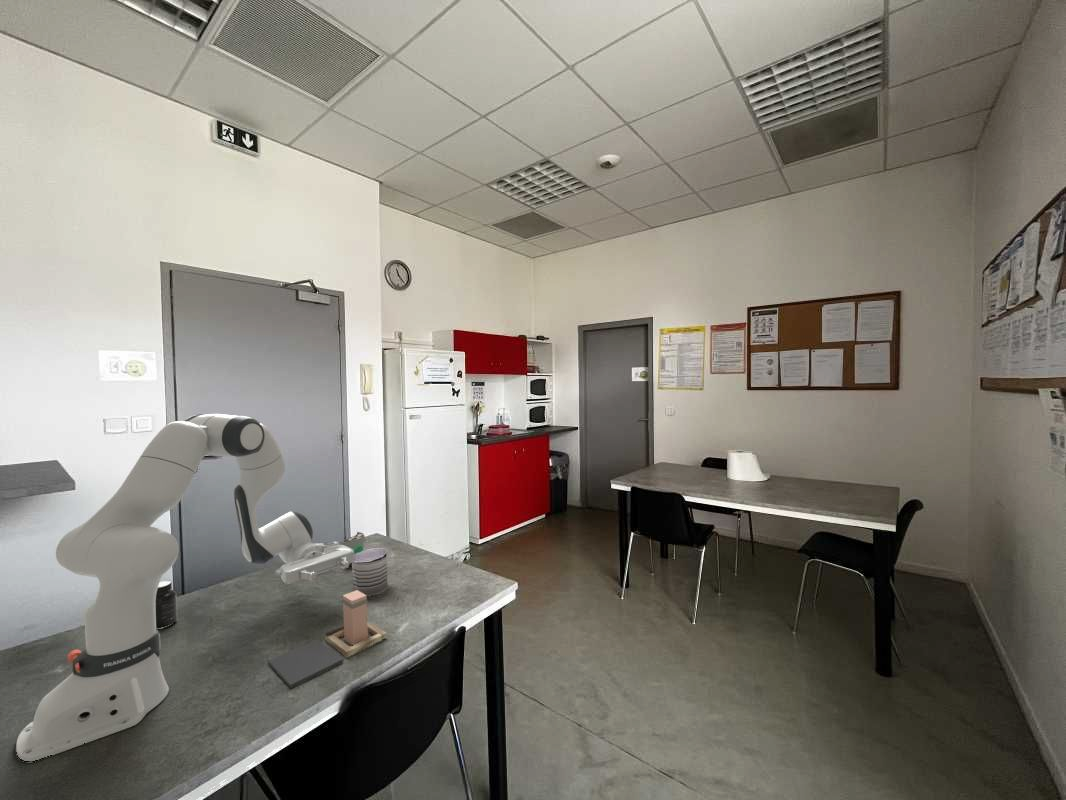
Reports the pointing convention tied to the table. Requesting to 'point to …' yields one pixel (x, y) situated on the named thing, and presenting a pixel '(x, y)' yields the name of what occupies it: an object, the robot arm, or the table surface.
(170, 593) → the supplement bottle
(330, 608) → the table surface
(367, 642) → the frame
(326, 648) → the mat
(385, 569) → the can
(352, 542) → the food container
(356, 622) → the block
